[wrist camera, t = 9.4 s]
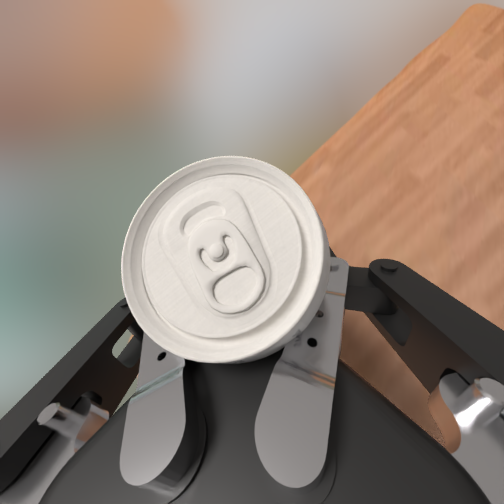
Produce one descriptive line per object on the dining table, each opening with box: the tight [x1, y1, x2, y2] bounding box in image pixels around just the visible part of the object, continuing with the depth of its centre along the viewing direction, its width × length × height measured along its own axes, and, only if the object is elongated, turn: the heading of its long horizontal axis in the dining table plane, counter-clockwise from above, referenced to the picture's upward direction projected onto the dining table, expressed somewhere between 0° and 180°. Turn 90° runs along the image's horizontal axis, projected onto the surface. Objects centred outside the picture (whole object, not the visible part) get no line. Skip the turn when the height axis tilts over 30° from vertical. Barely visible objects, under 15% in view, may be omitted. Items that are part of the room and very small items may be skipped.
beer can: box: [121, 156, 330, 364], centre depth 12 cm, size 6×6×15 cm
